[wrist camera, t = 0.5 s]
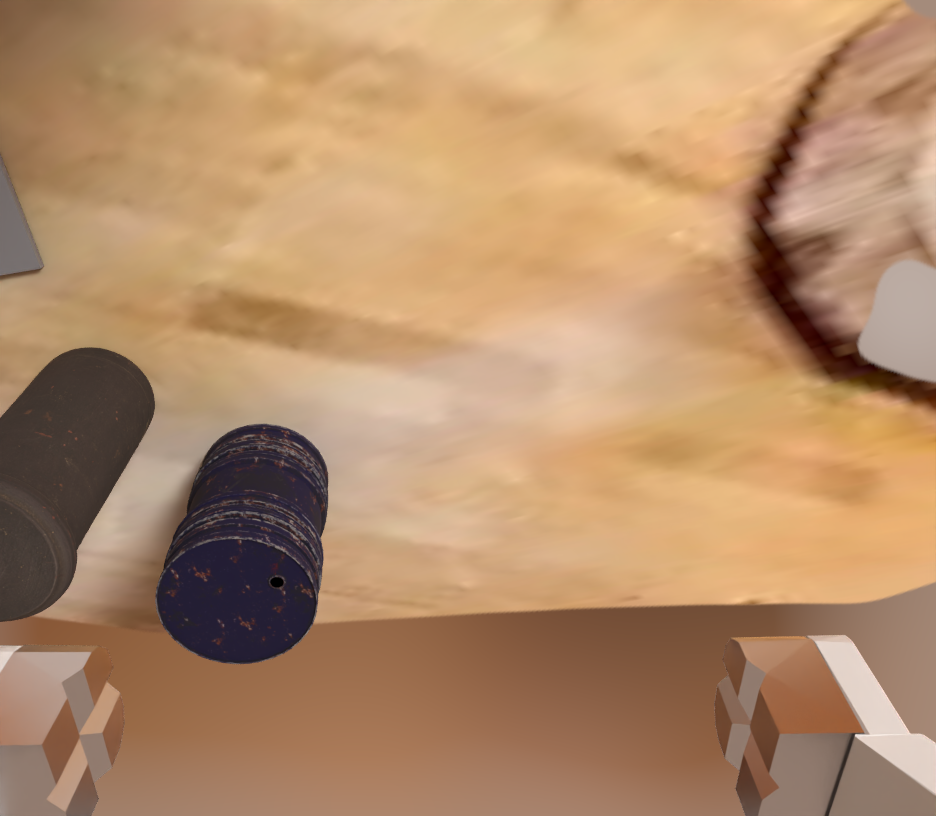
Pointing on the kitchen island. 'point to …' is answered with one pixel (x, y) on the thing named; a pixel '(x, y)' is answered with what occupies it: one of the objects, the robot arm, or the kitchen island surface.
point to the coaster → (14, 232)
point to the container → (63, 468)
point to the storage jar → (248, 548)
